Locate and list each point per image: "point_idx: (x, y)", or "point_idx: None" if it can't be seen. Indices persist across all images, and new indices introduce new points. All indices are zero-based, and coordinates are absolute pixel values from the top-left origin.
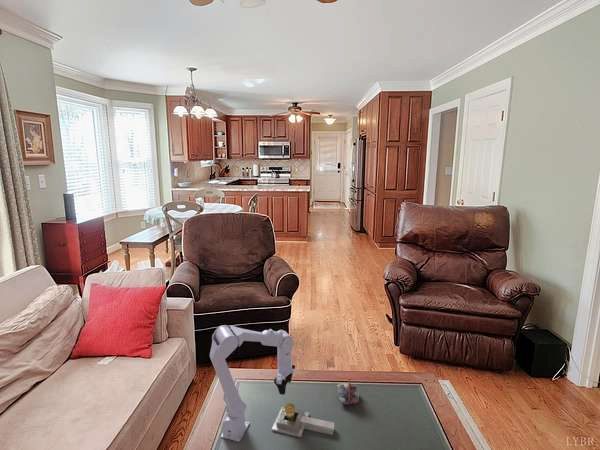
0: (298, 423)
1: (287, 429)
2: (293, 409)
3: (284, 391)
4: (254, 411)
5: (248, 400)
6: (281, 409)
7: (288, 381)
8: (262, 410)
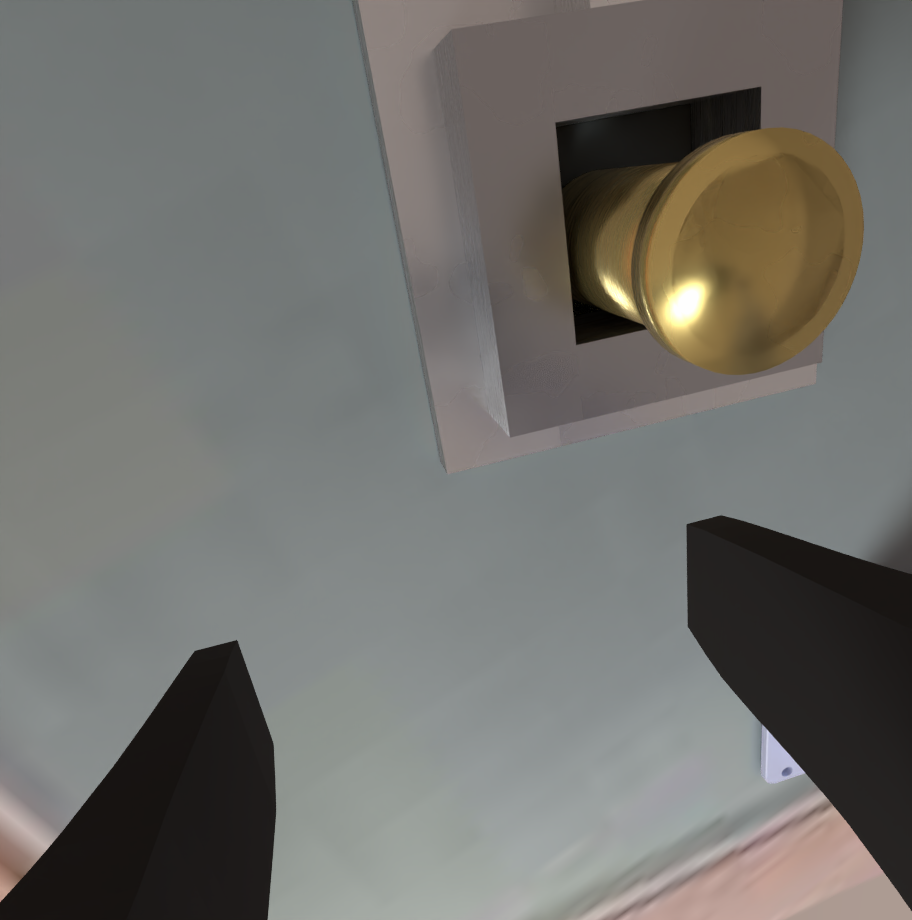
0: (770, 7)
1: None
2: (797, 146)
3: (832, 554)
4: (605, 690)
5: (493, 826)
6: (494, 453)
7: (252, 704)
8: (561, 636)
